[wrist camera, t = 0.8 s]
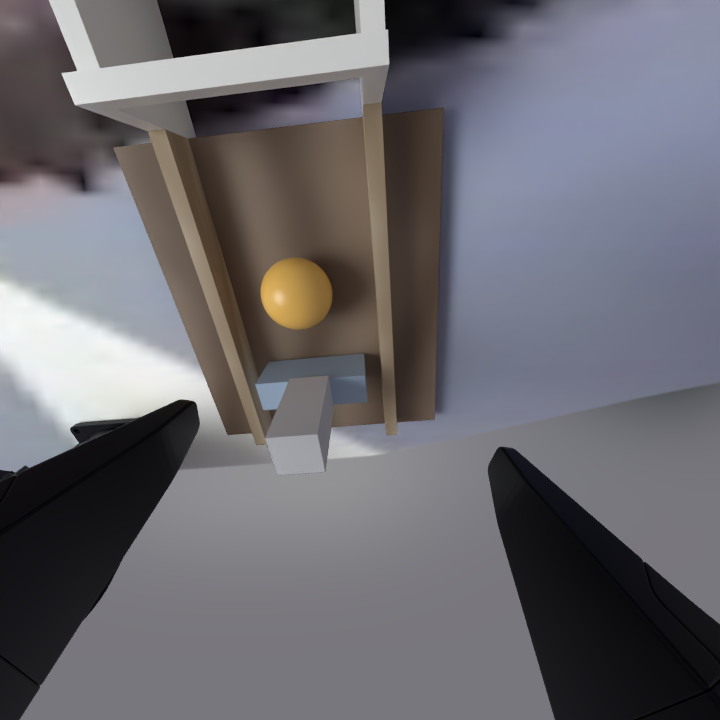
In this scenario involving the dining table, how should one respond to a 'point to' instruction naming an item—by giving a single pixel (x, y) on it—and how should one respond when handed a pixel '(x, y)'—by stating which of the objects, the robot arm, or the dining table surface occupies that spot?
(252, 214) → the board
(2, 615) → the robot arm
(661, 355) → the dining table surface
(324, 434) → the striker
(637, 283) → the dining table surface
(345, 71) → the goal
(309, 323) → the ball
